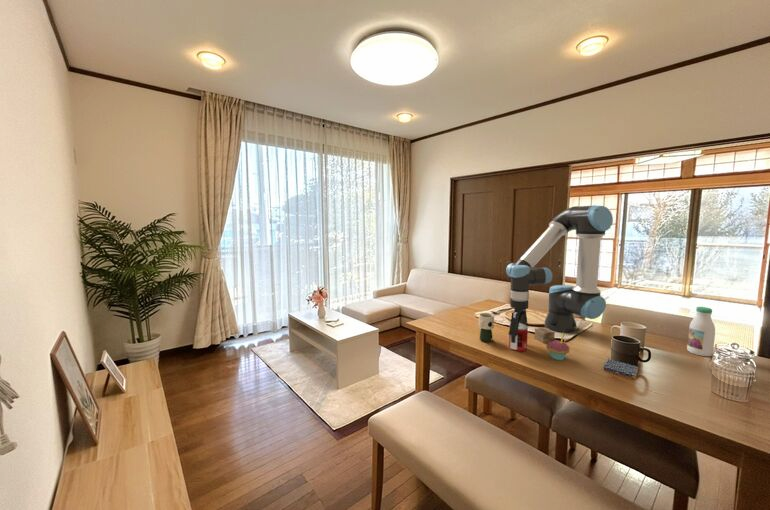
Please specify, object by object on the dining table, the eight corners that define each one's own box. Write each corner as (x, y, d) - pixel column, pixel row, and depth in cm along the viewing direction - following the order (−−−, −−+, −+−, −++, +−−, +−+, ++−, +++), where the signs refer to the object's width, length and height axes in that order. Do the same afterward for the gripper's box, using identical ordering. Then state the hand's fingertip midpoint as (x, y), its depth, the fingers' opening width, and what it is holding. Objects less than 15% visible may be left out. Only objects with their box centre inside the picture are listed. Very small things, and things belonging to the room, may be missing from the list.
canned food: (523, 344, 143) (524, 322, 141) (529, 352, 135) (530, 328, 134) (506, 344, 144) (507, 322, 142) (512, 352, 136) (512, 328, 134)
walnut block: (545, 337, 151) (545, 327, 150) (553, 341, 145) (554, 332, 145) (534, 338, 150) (534, 328, 149) (543, 343, 144) (543, 333, 143)
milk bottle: (704, 349, 132) (709, 306, 129) (717, 357, 125) (722, 311, 122) (682, 347, 135) (687, 304, 132) (693, 355, 127) (698, 310, 125)
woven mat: (638, 370, 118) (639, 365, 118) (635, 381, 111) (636, 376, 110) (606, 361, 125) (606, 357, 125) (601, 371, 118) (601, 366, 118)
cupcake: (567, 355, 131) (568, 328, 130) (570, 364, 124) (571, 336, 122) (545, 352, 135) (546, 326, 133) (546, 360, 127) (547, 333, 126)
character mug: (487, 345, 143) (488, 319, 141) (474, 341, 148) (474, 316, 146) (497, 338, 151) (498, 313, 149) (484, 334, 156) (484, 310, 154)
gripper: (518, 292, 148) (517, 333, 151) (501, 304, 129) (500, 351, 132) (535, 294, 143) (533, 336, 146) (520, 307, 124) (518, 355, 127)
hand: (518, 343), depth 139 cm, fingers open, 13 cm apart
